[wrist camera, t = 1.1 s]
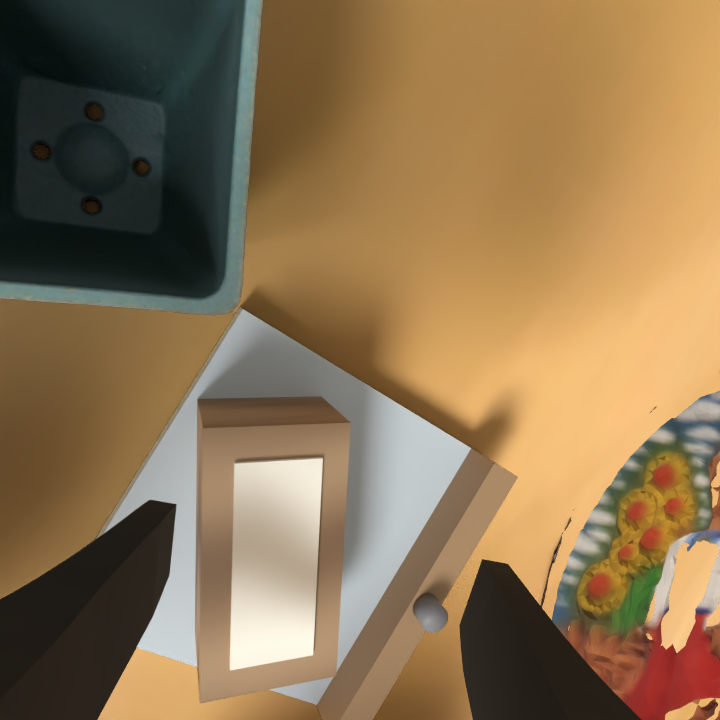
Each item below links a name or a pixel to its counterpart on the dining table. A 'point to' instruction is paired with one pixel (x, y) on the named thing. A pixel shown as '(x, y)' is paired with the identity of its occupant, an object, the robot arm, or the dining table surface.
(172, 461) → the wall panel
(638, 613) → the decorative plaque
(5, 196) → the flower pot
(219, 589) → the frame
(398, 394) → the dining table surface
